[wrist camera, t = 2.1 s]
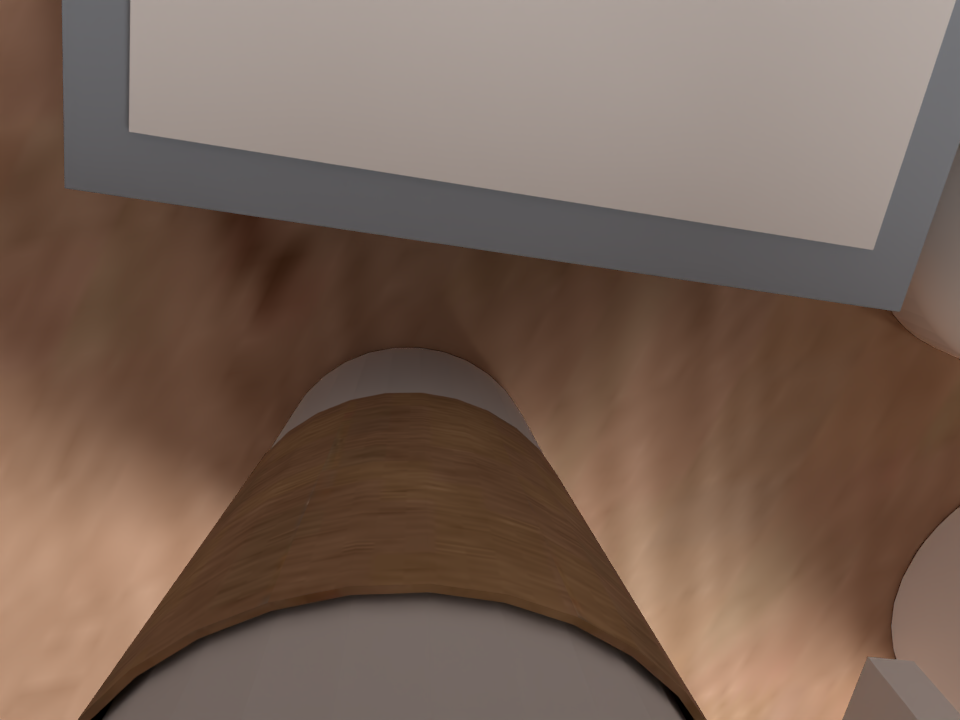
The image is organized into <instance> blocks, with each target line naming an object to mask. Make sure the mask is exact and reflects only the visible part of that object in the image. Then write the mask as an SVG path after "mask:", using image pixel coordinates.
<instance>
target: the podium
mask: <svg viewBox="0 0 960 720" xmlns="http://www.w3.org/2000/svg"><path fill="white" fill-rule="evenodd" d="M62 44H63V111H64V178H65V188H67V189H74V190H81V191H87V192H94V193H101V194H108V195H114V196H121V197H128V198H135V199H141V200H148V201H155V202H162V203H168V204H175V205H182V206H189V207H195V208H202V209H209V210H216V211H222V212H229V213H236V214H243V215H249V216H256V217H263V218H270V219H276V220H283V221H290V222H297V223H303V224H310V225H317V226H324V227H330V228H337V229H344V230H350V231H357V232H364V233H371V234H377V235H384V236H391V237H398V238H404V239H411V240H418V241H425V242H431V243H438V244H445V245H452V246H458V247H465V248H472V249H479V250H485V251H492V252H499V253H506V254H512V255H519V256H526V257H533V258H539V259H546V260H553V261H560V262H566V263H573V264H580V265H587V266H593V267H600V268H607V269H614V270H620V271H627V272H634V273H641V274H647V275H654V276H661V277H668V278H674V279H681V280H688V281H695V282H701V283H708V284H715V285H722V286H728V287H735V288H742V289H749V290H755V291H762V292H769V293H776V294H782V295H789V296H796V297H803V298H809V299H816V300H823V301H830V302H836V303H843V304H850V305H857V306H863V307H870V308H877V309H884V310H890V311H897V312H900V310H901V307H902V305H903V302H904V299H905V296H906V293H907V290H908V288H909V285H910V282H911V279H912V276H913V273H914V271H915V268H916V265H917V262H918V259H919V256H920V253H921V251H922V248H923V245H924V242H925V239H926V236H927V234H928V231H929V228H930V225H931V222H932V219H933V217H934V214H935V211H936V208H937V205H938V202H939V200H940V197H941V194H942V191H943V188H944V185H945V182H946V180H947V177H948V174H949V171H950V168H951V165H952V163H953V160H954V157H955V154H956V151H957V148H958V146H959V143H960V0H62Z"/></svg>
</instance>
